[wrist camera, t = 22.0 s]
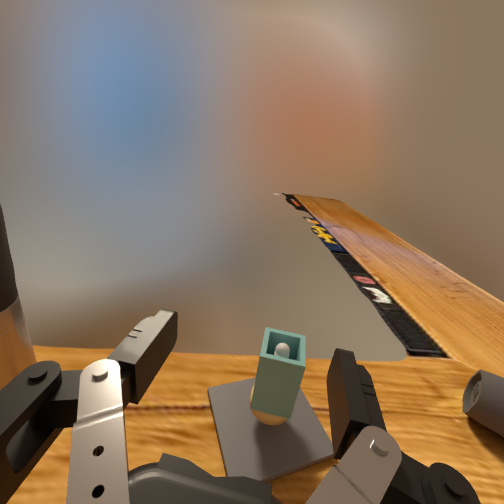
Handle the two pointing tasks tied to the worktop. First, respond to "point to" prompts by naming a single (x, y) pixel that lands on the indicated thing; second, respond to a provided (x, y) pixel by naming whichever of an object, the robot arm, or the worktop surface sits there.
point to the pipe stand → (265, 433)
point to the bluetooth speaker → (485, 400)
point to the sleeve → (279, 374)
